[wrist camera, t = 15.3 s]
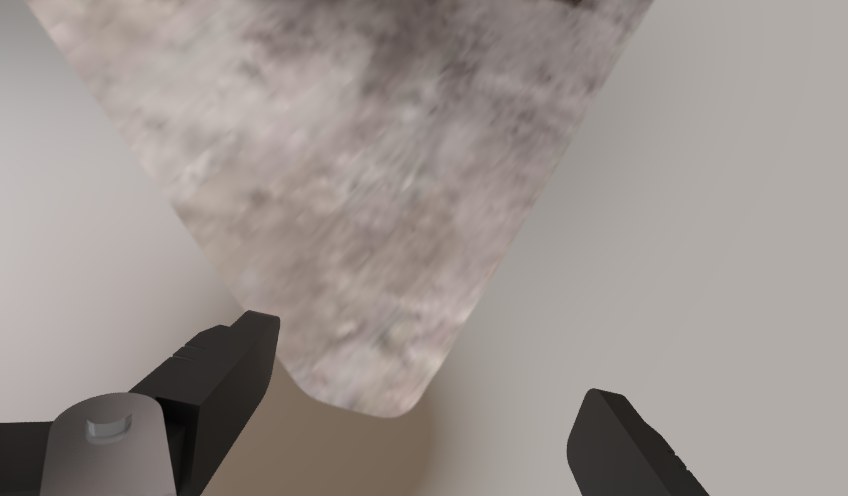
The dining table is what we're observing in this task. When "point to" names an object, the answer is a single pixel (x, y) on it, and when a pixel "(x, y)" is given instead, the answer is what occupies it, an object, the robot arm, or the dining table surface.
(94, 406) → the robot arm
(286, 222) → the dining table surface
